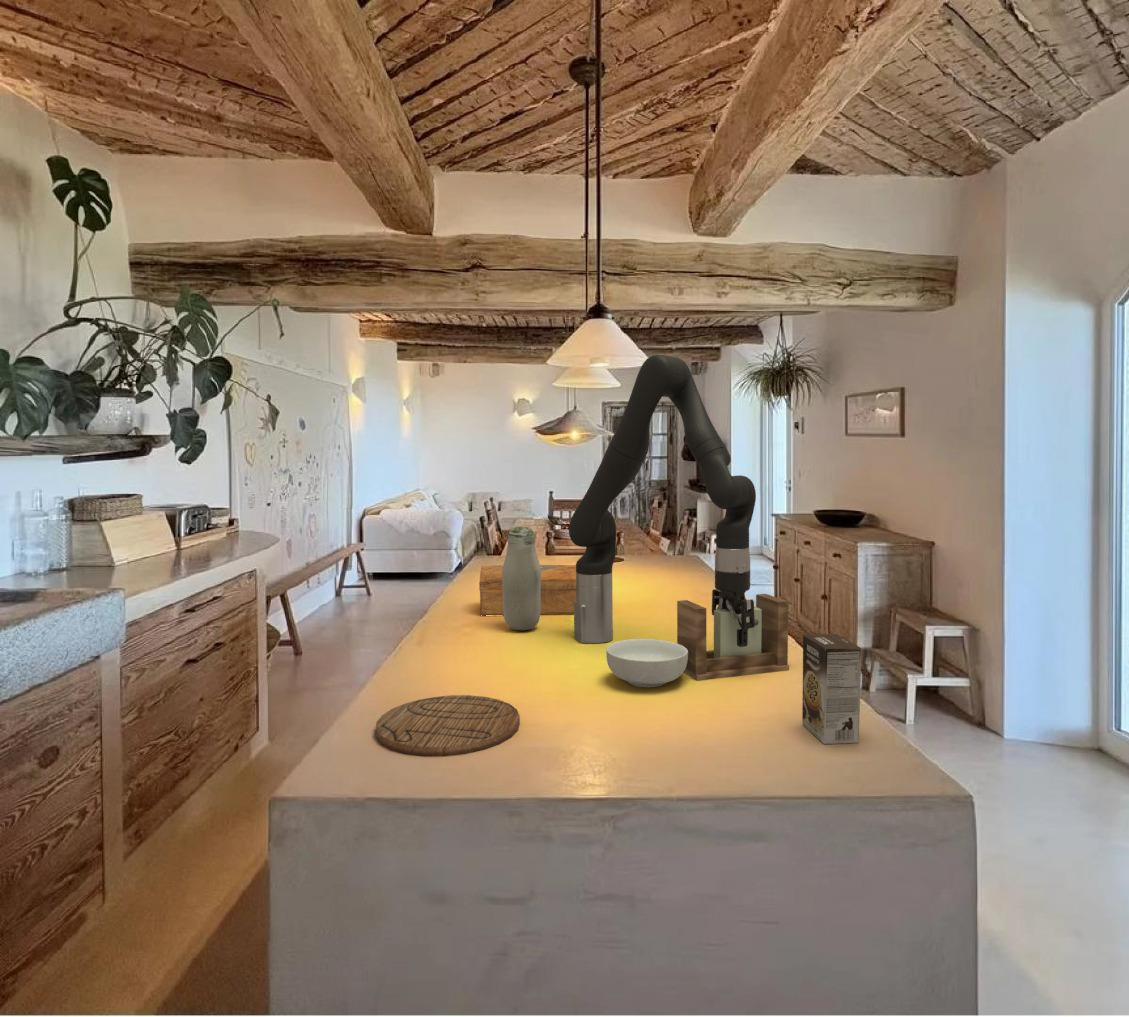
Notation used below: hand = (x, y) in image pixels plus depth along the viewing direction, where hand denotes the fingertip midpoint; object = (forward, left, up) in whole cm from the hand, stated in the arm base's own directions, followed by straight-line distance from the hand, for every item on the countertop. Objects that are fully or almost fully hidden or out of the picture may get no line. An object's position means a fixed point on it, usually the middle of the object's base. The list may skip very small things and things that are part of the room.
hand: (732, 641), depth 163 cm
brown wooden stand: (0, 0, -6) cm, 6 cm away
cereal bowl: (-21, -2, -6) cm, 22 cm away
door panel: (+1, 0, -5) cm, 5 cm away
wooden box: (-27, +72, -7) cm, 77 cm away
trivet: (-64, -14, -7) cm, 66 cm away
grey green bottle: (-35, +50, -6) cm, 61 cm away
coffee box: (-3, -38, -6) cm, 39 cm away
